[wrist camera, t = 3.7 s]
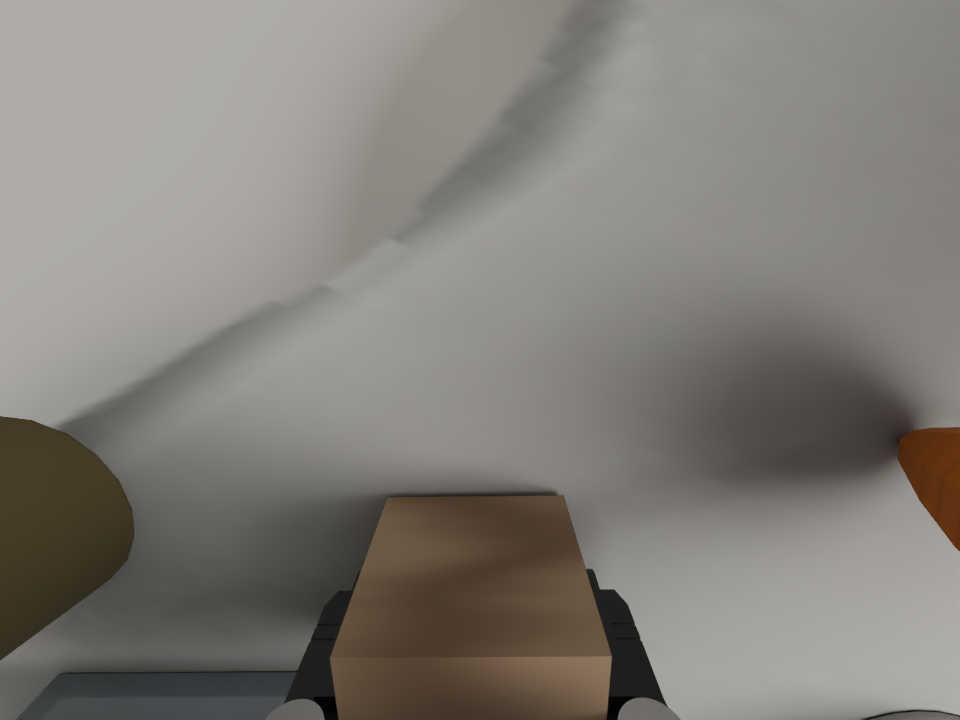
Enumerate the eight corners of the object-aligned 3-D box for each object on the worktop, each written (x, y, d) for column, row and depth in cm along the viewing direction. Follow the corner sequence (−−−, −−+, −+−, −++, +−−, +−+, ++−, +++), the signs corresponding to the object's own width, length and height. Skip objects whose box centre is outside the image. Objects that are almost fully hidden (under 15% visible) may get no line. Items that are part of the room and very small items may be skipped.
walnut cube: (563, 495, 13) (611, 656, 8) (557, 634, 14) (596, 842, 9) (387, 497, 13) (329, 658, 8) (399, 636, 14) (355, 844, 9)
